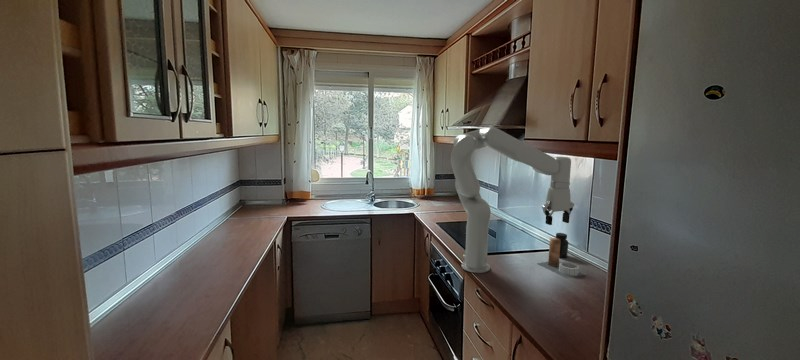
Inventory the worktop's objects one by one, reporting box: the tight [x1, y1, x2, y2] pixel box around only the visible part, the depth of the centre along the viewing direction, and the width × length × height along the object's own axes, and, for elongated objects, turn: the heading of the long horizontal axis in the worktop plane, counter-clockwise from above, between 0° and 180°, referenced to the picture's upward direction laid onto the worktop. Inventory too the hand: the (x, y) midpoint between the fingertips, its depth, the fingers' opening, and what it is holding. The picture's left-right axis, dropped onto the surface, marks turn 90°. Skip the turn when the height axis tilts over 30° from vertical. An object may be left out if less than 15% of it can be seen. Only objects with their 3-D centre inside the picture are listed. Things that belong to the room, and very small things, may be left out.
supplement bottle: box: [555, 232, 569, 259], centre depth 170 cm, size 7×7×12 cm
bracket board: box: [536, 261, 588, 279], centre depth 154 cm, size 17×12×4 cm
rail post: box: [547, 237, 561, 267], centre depth 158 cm, size 4×4×12 cm
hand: (557, 223), depth 155 cm, fingers open, 9 cm apart
